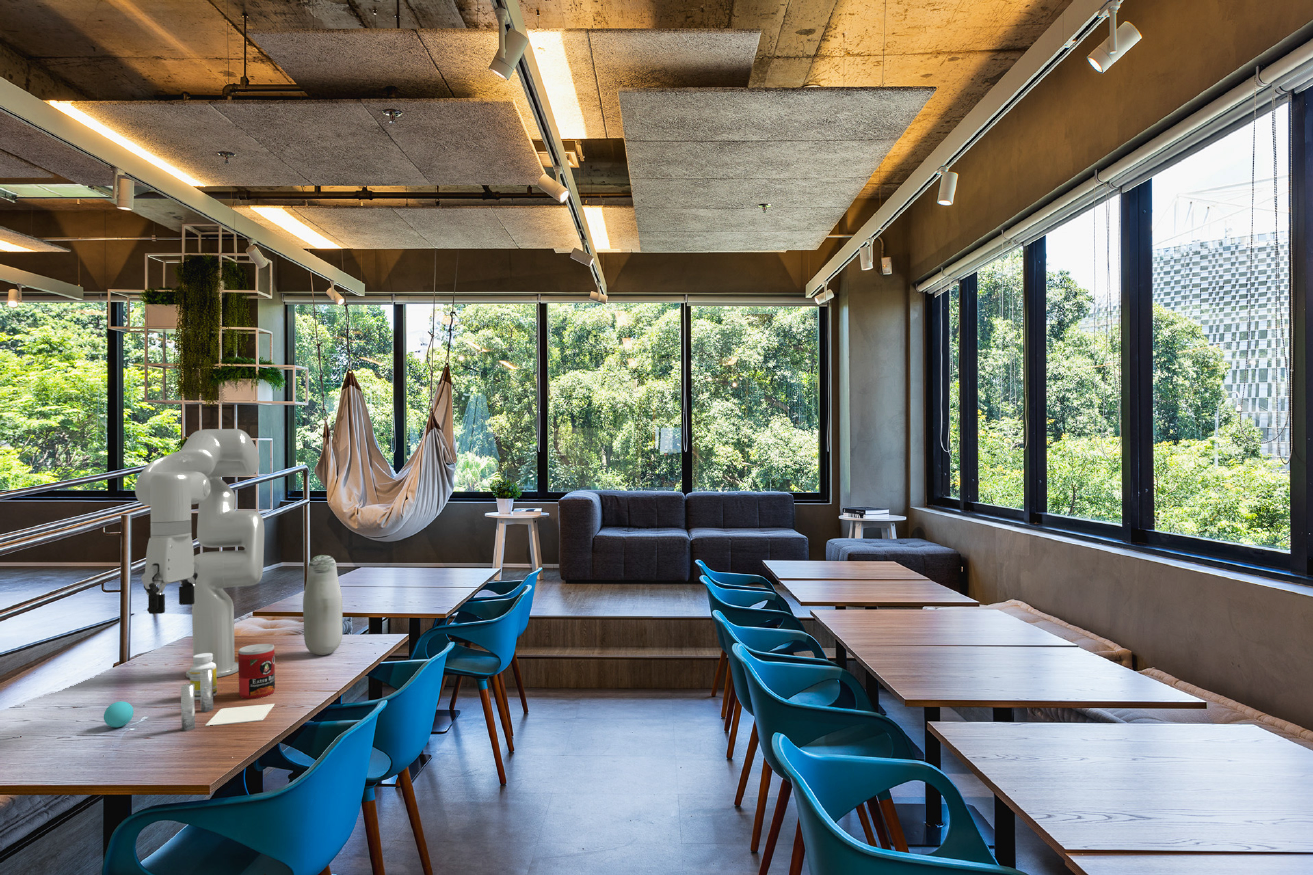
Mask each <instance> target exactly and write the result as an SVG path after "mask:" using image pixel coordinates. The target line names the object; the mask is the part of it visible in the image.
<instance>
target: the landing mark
mask: <svg viewBox="0 0 1313 875" xmlns="http://www.w3.org/2000/svg"><path fill="white" fill-rule="evenodd" d="M274 706H275V703H270V704H269V703H267V704H256V705H248V706H247V705H246V706H244V705H243V706H237V707H236V706H235V707H225V708H220V709H219V710H218V712H216V713H215V715H213V717H212V718H210V719H209V721H208V722H206V723H205V727H209V726H210V725H213V726H222V725H231V724H233V725H234V724H240V723H250V722H253V723H254V722H261V721H263V720H264V719H265V718H266V717H267V716H268V714H269V713H270V712H271V710H272V709H273V707H274ZM210 727H211V726H210Z"/></svg>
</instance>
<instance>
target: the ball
mask: <svg viewBox="0 0 1313 875" xmlns="http://www.w3.org/2000/svg"><path fill="white" fill-rule="evenodd" d="M134 710H135V709H134V707H133V705H132V704H130V703H129V702H128V701H127V702H126V701H121V700H120V701H115V702H113V703H112V704H110V705H108V707H107V708H106V709H105V711H104V713H103V720H104V723H105V724H106V725H107V726H108V727H110V728H122V727H124V726H126V725H127V724H129V723H130V722H131V721H132V719H133V717H134V713H135V712H134Z"/></svg>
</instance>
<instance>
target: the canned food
mask: <svg viewBox="0 0 1313 875" xmlns="http://www.w3.org/2000/svg"><path fill="white" fill-rule="evenodd" d="M237 653H238V654H237V658H238V660H237V662H238V669H239V671H238V694H239V697H240V698H242V699H245V700H255V699H260V698H261V697H262V698H264V697H265V698H266V697H269V696H271V695H273V693H275V690H276V689H275V688H276V677H275V676H276V672H275V670H276V669H275V668H276V666H275V664H276V663H275V661H276V660H275V659H276V658H275V653H276V652H275V644H271V643H258V644H250V645H246V646H243V647H241V648H239V649H238V652H237ZM268 695H269V696H268Z"/></svg>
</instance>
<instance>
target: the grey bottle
mask: <svg viewBox="0 0 1313 875" xmlns="http://www.w3.org/2000/svg"><path fill="white" fill-rule="evenodd" d="M337 567H338V566H337V563H336V560H335V559H334V557H333V556H331V555H327V554H320V555H316V556H314V557H313V558H311V560H310V561H309V562H308V566H307V578H306V583H305V587H304V591H303V598H302V615H303V616H302V617H303V639H304V644H305V647H306V649H307V650H308V651H309V652H310V653H311V654H314V655H318V656H324V655H329V654H333V652H336V650H337V649H338V648H339V647H340V645H341V643H342V640H343V595H342V594H343V593H342V589H341V588H342V587H341V586H340V582H339V581H340V580H339V576H338V568H337Z"/></svg>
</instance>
